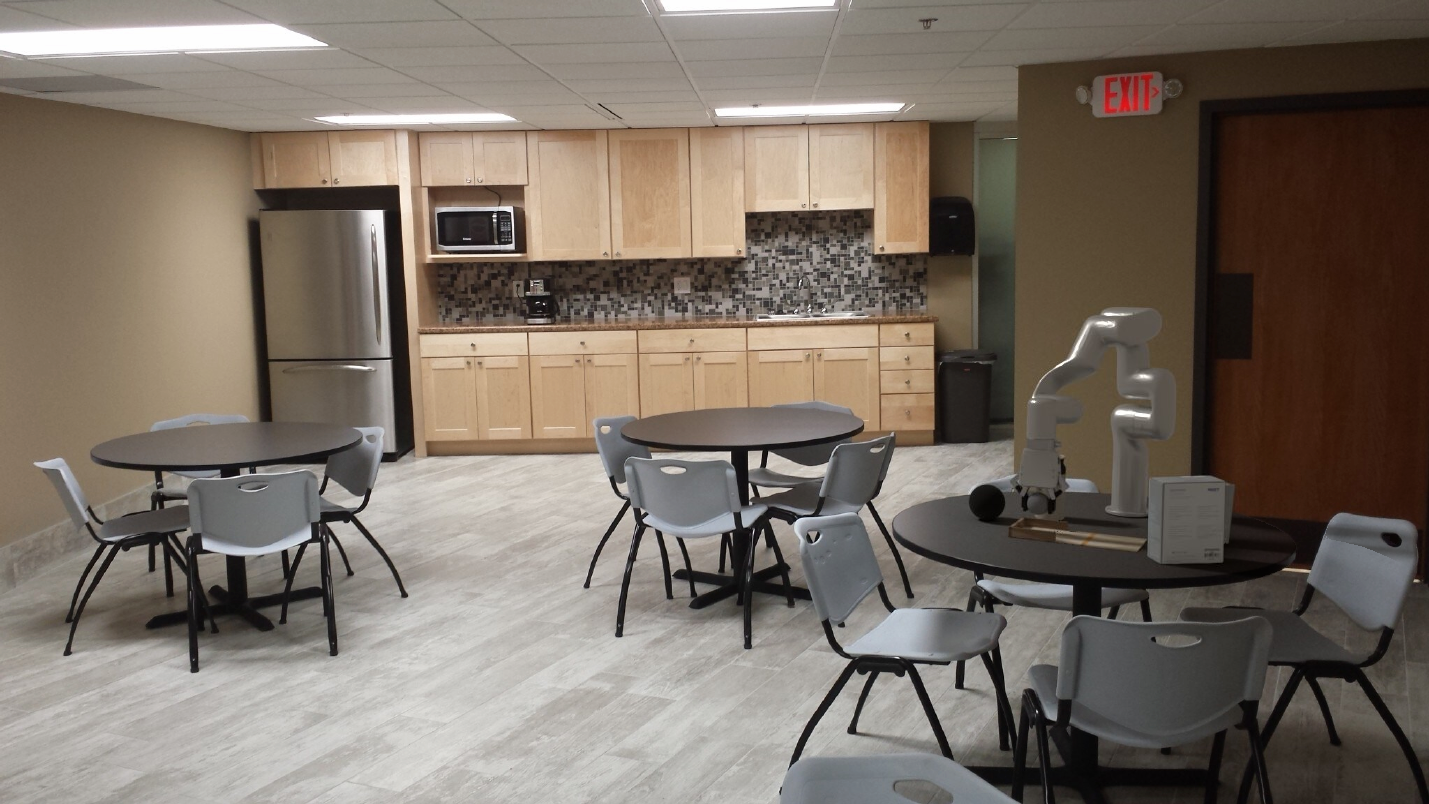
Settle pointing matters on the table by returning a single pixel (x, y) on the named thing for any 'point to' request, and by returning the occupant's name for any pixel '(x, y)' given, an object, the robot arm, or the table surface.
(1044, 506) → the rubber ball
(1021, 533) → the mat
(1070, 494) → the table surface
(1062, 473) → the travel mug
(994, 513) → the decorative ball
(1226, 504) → the skincare box
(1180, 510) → the hard drive box
